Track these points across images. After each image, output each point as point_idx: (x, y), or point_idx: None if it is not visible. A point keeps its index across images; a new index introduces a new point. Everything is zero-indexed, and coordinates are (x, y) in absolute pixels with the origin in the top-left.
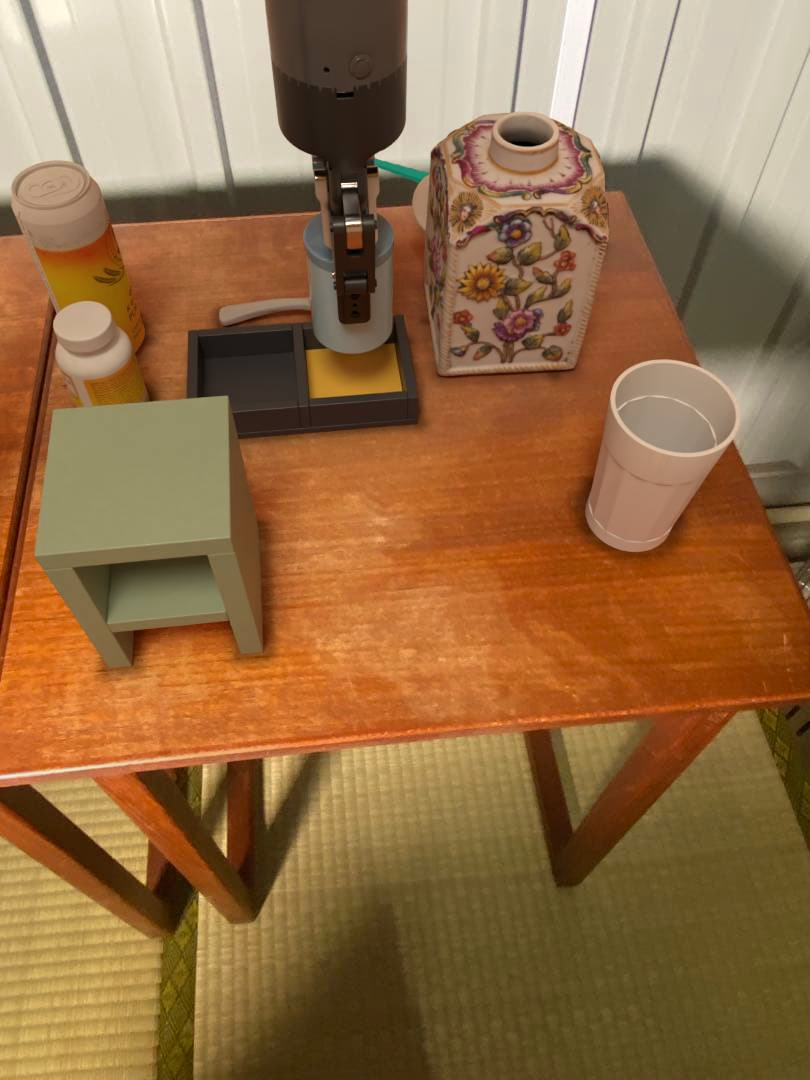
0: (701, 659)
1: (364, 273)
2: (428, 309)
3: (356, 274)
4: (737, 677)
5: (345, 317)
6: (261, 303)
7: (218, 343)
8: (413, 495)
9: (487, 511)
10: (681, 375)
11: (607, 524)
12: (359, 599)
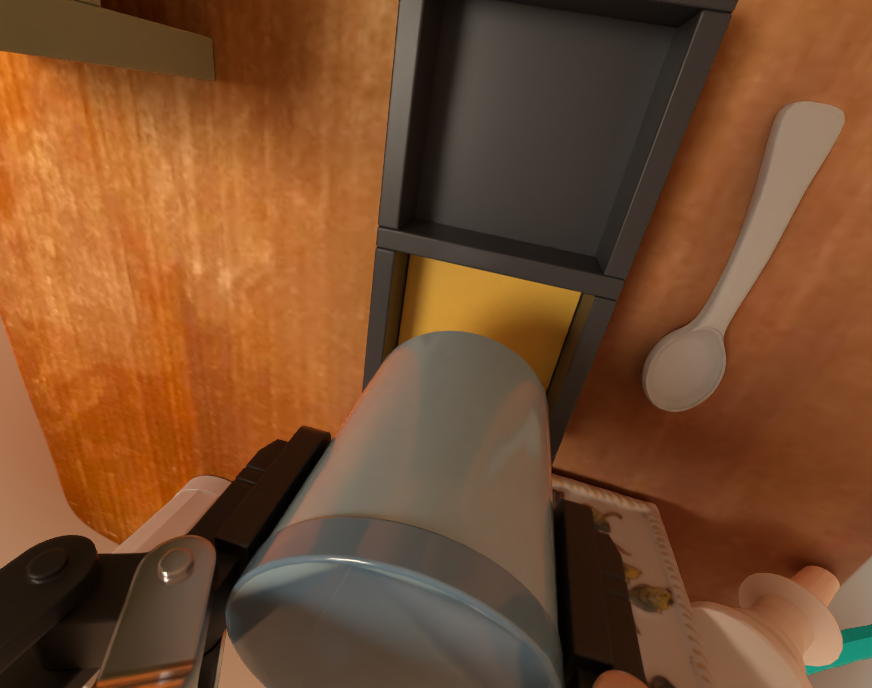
0: (88, 480)
1: (59, 667)
2: (587, 489)
3: (46, 652)
4: (77, 492)
5: (257, 455)
6: (774, 225)
7: (668, 76)
8: (263, 333)
9: (235, 400)
10: None
11: (173, 499)
12: (108, 211)
